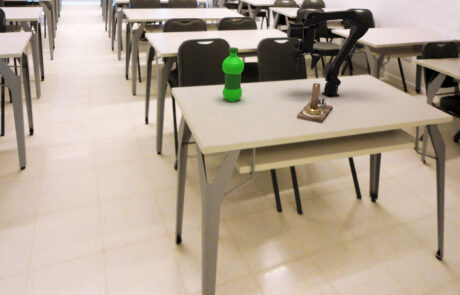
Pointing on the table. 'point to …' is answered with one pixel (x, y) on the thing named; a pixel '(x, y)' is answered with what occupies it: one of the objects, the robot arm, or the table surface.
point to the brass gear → (314, 101)
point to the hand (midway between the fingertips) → (304, 70)
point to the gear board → (317, 118)
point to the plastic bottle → (232, 75)
